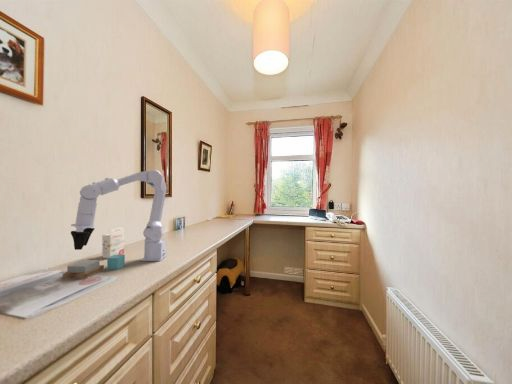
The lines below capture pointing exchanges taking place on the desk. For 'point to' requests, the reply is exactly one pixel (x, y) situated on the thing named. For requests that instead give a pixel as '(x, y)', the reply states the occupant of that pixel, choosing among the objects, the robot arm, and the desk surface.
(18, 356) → the desk surface
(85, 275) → the walnut slab
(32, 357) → the desk surface
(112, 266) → the teal block
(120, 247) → the ink cartridge box
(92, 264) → the gray slab
